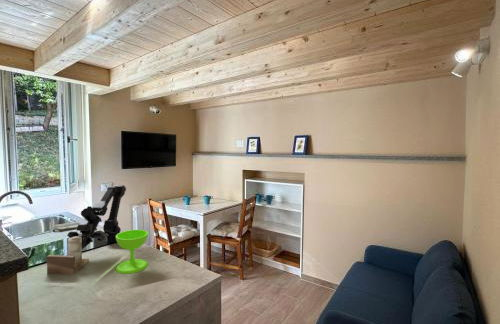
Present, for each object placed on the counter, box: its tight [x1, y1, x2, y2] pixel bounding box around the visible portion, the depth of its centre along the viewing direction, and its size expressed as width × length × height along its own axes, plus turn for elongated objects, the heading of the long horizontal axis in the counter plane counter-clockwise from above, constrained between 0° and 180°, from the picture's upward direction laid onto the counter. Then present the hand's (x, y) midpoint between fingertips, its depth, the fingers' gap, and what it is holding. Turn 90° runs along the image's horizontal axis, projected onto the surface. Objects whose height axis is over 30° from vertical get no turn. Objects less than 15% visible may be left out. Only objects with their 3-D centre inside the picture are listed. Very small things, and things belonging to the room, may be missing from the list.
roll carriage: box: [67, 237, 90, 266], centre depth 139 cm, size 9×9×14 cm
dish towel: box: [51, 221, 82, 233], centre depth 202 cm, size 19×18×3 cm
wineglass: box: [115, 229, 149, 275], centre depth 141 cm, size 16×16×18 cm
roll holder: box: [46, 254, 85, 276], centre depth 137 cm, size 19×14×10 cm
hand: (79, 250), depth 142 cm, fingers closed, pressing on roll carriage
